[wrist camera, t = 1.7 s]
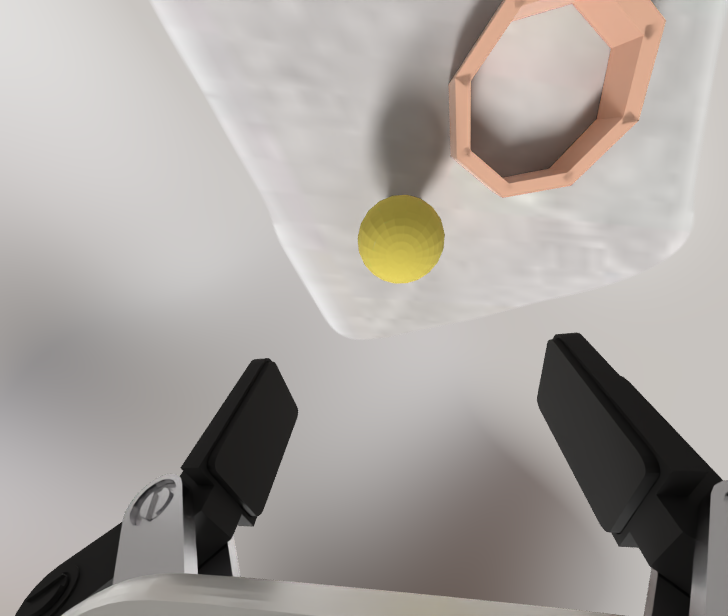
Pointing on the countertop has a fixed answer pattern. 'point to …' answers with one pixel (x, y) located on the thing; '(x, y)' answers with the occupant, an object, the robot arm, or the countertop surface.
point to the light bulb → (401, 239)
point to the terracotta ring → (618, 100)
